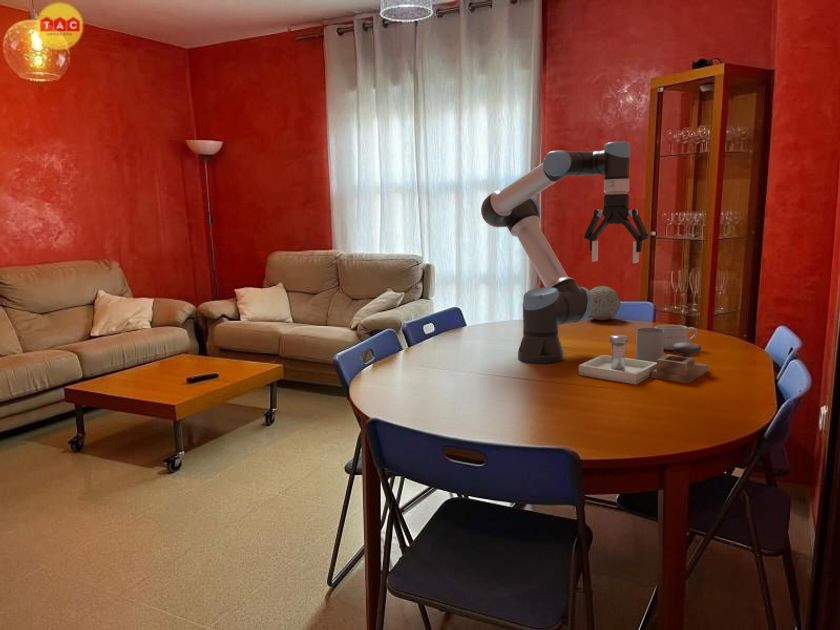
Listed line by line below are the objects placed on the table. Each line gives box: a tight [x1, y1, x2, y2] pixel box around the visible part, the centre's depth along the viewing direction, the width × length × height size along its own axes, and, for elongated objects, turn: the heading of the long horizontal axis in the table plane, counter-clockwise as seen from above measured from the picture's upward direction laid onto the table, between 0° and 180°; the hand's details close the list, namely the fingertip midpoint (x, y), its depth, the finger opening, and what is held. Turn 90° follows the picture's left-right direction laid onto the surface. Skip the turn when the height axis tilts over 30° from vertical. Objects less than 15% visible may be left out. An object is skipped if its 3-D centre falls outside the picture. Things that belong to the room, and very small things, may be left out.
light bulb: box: [609, 334, 629, 371], centre depth 192 cm, size 5×5×10 cm
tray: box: [578, 354, 657, 385], centre depth 193 cm, size 18×16×3 cm
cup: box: [635, 327, 665, 362], centre depth 207 cm, size 8×8×10 cm
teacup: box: [654, 324, 698, 351], centre depth 221 cm, size 14×11×8 cm
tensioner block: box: [650, 342, 709, 384], centre depth 190 cm, size 11×17×8 cm, turn 138°
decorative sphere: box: [589, 285, 621, 321], centre depth 276 cm, size 15×15×15 cm
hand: (614, 262), depth 200 cm, fingers open, 13 cm apart
